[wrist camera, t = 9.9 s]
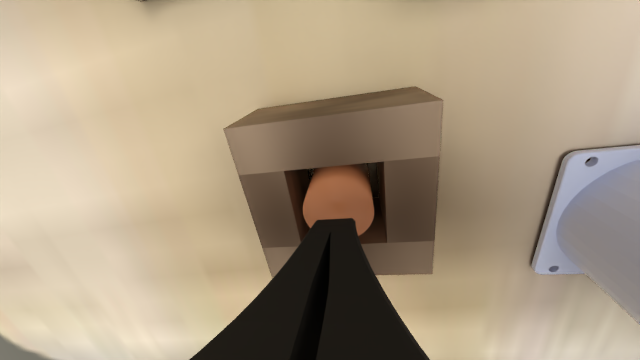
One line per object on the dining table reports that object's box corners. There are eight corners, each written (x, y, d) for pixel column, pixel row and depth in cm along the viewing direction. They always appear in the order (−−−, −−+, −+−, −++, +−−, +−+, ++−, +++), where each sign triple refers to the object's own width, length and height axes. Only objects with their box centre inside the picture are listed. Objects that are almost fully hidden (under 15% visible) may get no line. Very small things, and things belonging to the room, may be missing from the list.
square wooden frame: (415, 86, 12) (442, 100, 8) (413, 222, 15) (432, 273, 12) (257, 108, 13) (223, 129, 10) (289, 229, 17) (272, 277, 13)
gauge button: (366, 147, 13) (372, 177, 9) (370, 197, 14) (376, 238, 11) (309, 153, 13) (296, 183, 10) (318, 201, 14) (309, 241, 11)
